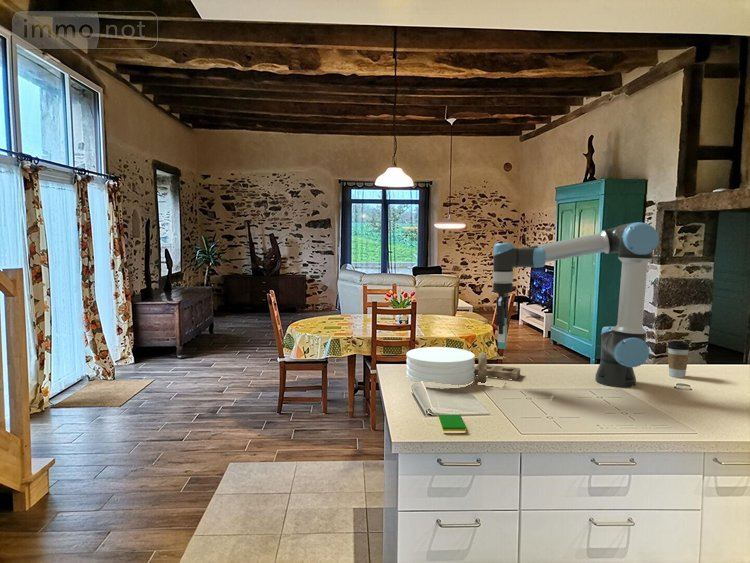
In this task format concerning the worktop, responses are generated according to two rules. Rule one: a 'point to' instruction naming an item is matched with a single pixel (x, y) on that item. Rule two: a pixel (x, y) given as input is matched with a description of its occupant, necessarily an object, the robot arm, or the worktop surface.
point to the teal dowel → (503, 344)
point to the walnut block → (500, 372)
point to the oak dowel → (482, 367)
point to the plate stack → (441, 365)
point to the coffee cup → (677, 358)
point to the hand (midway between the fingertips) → (502, 341)
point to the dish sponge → (452, 423)
